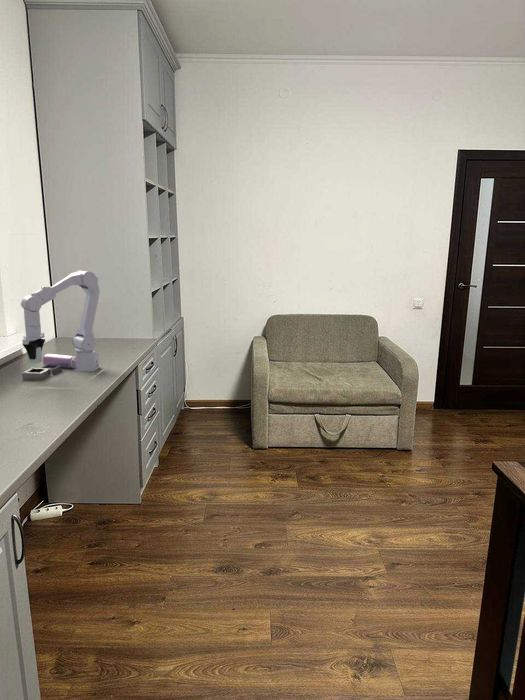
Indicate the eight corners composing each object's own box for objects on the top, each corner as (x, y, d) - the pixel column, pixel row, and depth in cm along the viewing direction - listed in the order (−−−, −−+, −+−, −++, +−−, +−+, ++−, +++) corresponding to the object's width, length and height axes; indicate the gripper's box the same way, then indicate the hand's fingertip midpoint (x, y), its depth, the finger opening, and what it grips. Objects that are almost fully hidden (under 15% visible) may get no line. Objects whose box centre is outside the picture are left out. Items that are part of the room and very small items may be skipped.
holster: (61, 371, 212) (60, 365, 212) (54, 376, 206) (53, 369, 205) (46, 371, 213) (46, 364, 212) (39, 375, 206) (38, 368, 205)
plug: (42, 361, 202) (40, 345, 200) (37, 363, 198) (36, 347, 196) (32, 360, 202) (31, 345, 200) (27, 363, 198) (26, 347, 196)
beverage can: (41, 367, 217) (71, 370, 214) (41, 354, 217) (71, 357, 213) (50, 365, 223) (79, 368, 220) (50, 352, 222) (79, 355, 219)
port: (50, 376, 205) (50, 367, 204) (41, 381, 197) (41, 372, 196) (32, 375, 205) (31, 367, 204) (22, 381, 197) (21, 372, 197)
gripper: (31, 322, 203) (34, 353, 206) (13, 328, 189) (16, 361, 192) (48, 322, 203) (50, 354, 206) (31, 328, 189) (34, 362, 192)
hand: (35, 357), depth 199 cm, fingers closed on plug, 4 cm apart
